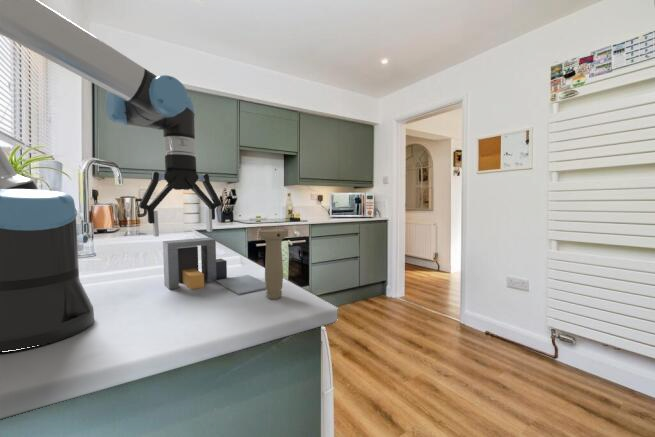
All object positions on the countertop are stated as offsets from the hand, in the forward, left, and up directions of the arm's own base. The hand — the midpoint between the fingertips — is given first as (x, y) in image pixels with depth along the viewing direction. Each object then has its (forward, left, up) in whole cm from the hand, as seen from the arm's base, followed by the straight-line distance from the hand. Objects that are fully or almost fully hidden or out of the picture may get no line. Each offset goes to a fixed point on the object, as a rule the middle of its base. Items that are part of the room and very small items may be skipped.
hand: (184, 233), depth 82 cm
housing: (+1, -6, -12) cm, 14 cm away
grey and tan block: (0, -5, -12) cm, 13 cm away
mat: (+10, -16, -12) cm, 23 cm away
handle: (+11, -30, -13) cm, 34 cm away
